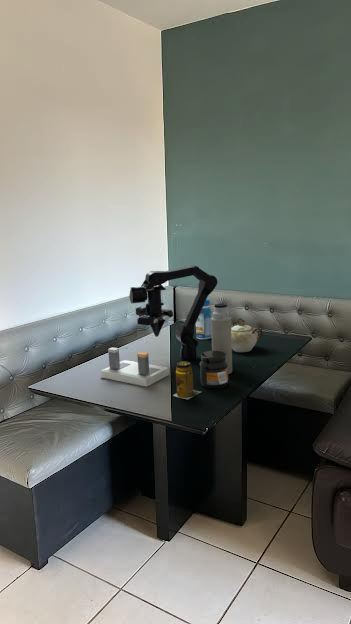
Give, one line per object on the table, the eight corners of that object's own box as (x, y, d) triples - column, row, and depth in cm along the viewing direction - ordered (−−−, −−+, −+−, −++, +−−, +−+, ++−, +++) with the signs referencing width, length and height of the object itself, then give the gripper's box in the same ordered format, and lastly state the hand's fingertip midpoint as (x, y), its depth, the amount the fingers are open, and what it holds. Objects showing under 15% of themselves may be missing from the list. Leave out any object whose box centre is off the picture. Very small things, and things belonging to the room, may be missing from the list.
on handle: (113, 366, 204) (112, 347, 202) (120, 367, 202) (118, 348, 200) (109, 368, 202) (108, 348, 200) (116, 369, 200) (114, 350, 198)
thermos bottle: (215, 367, 207) (213, 302, 201) (234, 368, 204) (232, 302, 198) (210, 374, 199) (208, 306, 193) (229, 375, 197) (228, 306, 191)
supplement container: (227, 389, 182) (226, 358, 179) (198, 389, 184) (197, 358, 181) (229, 379, 192) (228, 350, 190) (202, 379, 194) (201, 350, 191)
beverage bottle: (212, 339, 249) (211, 300, 245) (196, 340, 249) (194, 301, 245) (211, 335, 258) (210, 297, 253) (195, 335, 258) (194, 298, 253)
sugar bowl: (216, 352, 227) (215, 320, 224) (227, 343, 240) (226, 313, 237) (257, 356, 219) (257, 323, 216) (267, 347, 232) (266, 316, 229)
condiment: (171, 395, 179) (170, 364, 176) (186, 388, 185) (185, 358, 183) (187, 400, 174) (186, 367, 172) (202, 392, 181) (200, 361, 178)
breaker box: (125, 366, 214) (124, 359, 213) (168, 374, 201) (168, 367, 200) (101, 377, 202) (100, 369, 201) (146, 386, 189) (146, 378, 188)
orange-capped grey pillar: (142, 371, 196) (141, 352, 194) (149, 373, 194) (148, 353, 192) (138, 373, 194) (137, 353, 192) (145, 374, 192) (144, 354, 190)
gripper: (152, 295, 223) (154, 329, 226) (126, 303, 208) (128, 339, 211) (172, 297, 216) (174, 332, 220) (147, 305, 201) (149, 342, 205)
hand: (156, 336), depth 214 cm, fingers closed
